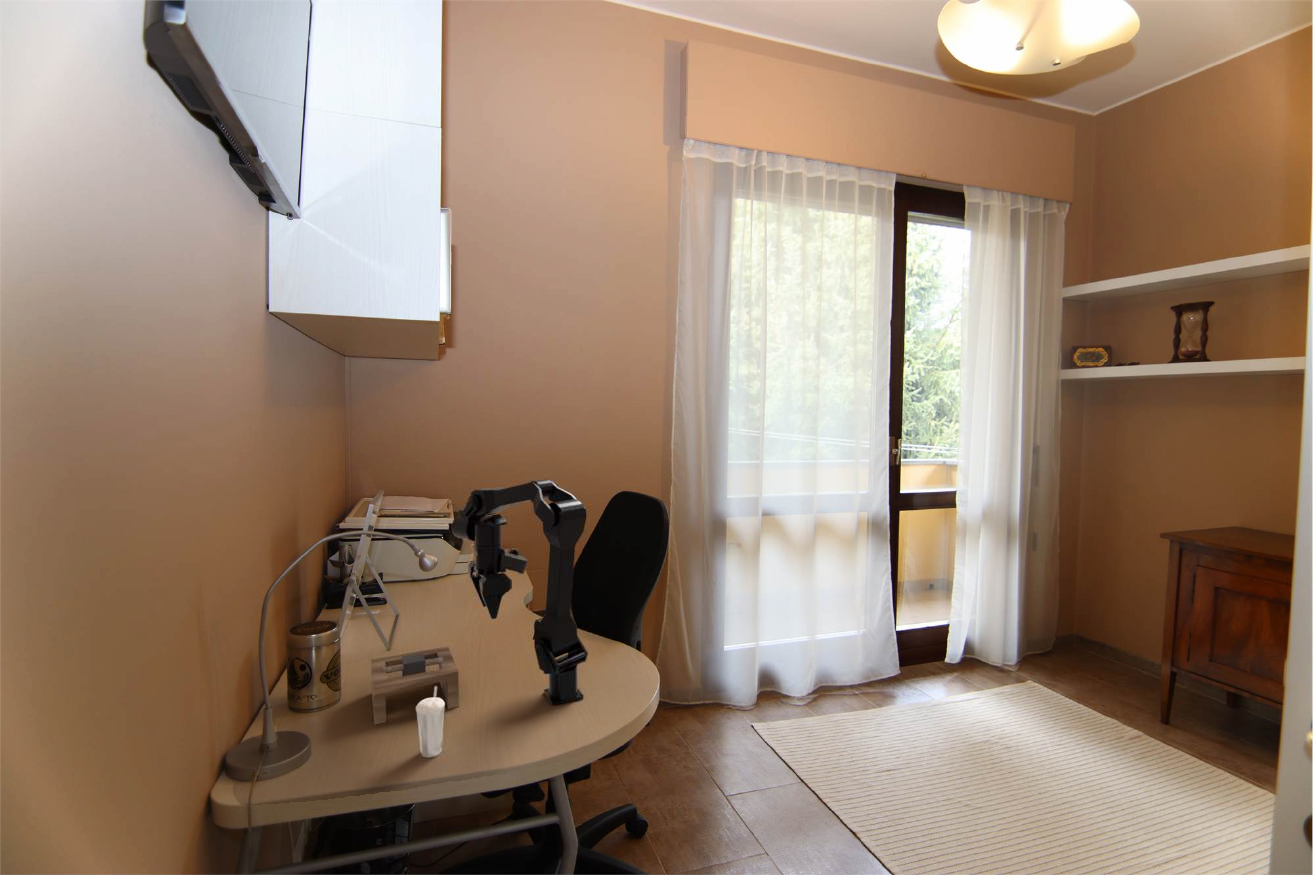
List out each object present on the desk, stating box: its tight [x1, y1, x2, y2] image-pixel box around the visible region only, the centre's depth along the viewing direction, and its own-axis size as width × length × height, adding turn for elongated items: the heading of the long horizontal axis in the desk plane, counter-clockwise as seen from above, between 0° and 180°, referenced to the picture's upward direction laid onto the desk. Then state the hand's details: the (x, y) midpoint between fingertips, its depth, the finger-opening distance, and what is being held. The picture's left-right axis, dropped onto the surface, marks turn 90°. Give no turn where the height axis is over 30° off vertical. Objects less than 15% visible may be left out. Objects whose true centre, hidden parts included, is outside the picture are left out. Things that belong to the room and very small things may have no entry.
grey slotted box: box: [401, 653, 427, 677], centre depth 122 cm, size 4×4×5 cm
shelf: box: [370, 645, 460, 726], centre depth 122 cm, size 14×15×8 cm
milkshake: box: [415, 685, 446, 758], centre depth 104 cm, size 5×5×10 cm
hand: (489, 612), depth 138 cm, fingers open, 9 cm apart
